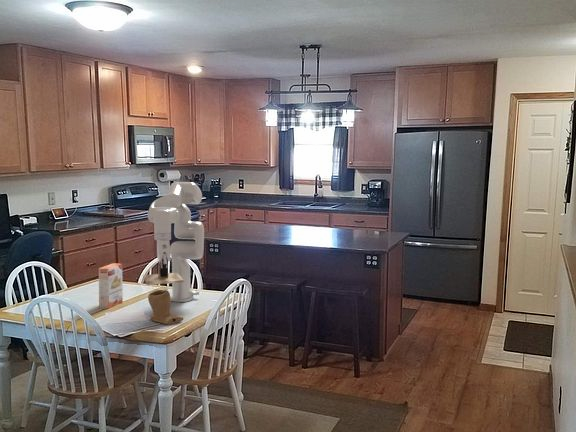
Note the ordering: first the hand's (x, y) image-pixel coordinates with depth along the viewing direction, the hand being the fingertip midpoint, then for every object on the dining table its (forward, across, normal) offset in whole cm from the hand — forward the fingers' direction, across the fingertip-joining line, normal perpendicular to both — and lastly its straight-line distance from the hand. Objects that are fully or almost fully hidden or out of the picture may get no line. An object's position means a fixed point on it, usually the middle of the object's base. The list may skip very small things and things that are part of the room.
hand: (163, 275), depth 243 cm
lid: (+2, 0, 0) cm, 2 cm away
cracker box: (+23, +36, +21) cm, 48 cm away
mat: (+22, +13, +16) cm, 31 cm away
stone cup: (+23, 0, 0) cm, 23 cm away
